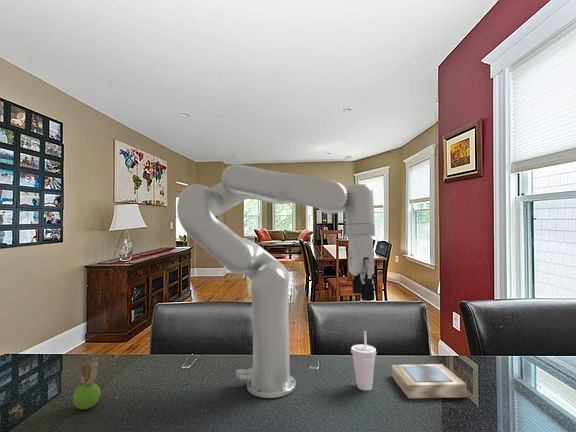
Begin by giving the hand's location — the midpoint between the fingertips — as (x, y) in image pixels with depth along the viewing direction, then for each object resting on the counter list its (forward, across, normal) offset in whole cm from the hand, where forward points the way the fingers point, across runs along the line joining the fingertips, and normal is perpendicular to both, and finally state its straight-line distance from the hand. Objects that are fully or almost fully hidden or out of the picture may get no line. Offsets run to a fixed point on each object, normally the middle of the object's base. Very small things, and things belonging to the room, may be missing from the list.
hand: (363, 296), depth 82 cm
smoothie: (+23, 0, -1) cm, 23 cm away
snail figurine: (+22, +8, -67) cm, 71 cm away
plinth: (+23, 0, +15) cm, 28 cm away
